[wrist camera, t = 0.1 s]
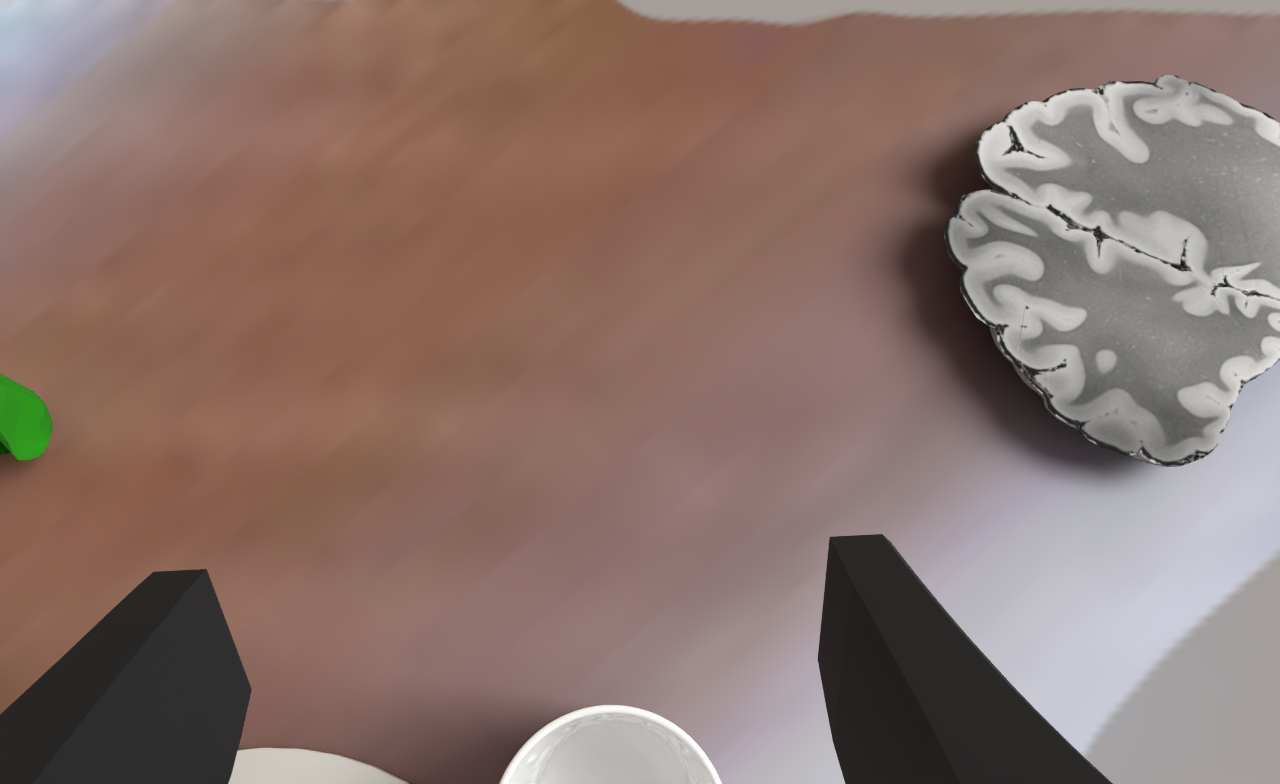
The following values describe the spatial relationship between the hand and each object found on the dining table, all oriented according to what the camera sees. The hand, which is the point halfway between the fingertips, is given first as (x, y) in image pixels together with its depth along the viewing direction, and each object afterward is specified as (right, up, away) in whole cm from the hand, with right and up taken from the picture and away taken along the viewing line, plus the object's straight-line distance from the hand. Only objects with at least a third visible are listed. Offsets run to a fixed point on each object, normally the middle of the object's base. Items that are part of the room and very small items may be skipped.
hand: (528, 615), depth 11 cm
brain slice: (+24, +9, +37) cm, 45 cm away
